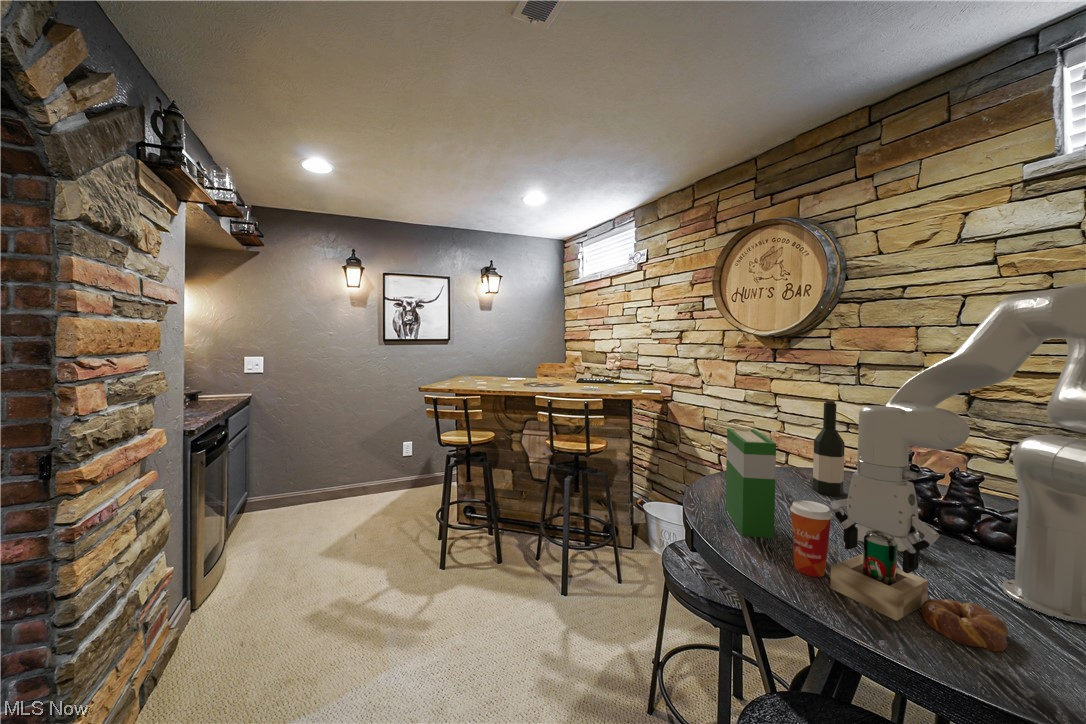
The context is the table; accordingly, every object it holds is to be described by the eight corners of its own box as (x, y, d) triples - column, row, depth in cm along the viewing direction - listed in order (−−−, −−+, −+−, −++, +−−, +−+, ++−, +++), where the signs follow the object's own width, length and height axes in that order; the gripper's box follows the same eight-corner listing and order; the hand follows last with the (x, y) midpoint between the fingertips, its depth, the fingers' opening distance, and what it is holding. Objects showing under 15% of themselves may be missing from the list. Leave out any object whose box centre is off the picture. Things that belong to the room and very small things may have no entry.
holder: (927, 603, 78) (928, 580, 78) (896, 620, 73) (897, 596, 73) (861, 574, 88) (861, 553, 88) (830, 588, 83) (830, 566, 83)
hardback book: (725, 508, 123) (727, 428, 122) (752, 510, 122) (754, 429, 121) (742, 535, 106) (744, 442, 105) (773, 538, 105) (776, 443, 103)
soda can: (883, 588, 83) (885, 529, 82) (902, 604, 78) (904, 541, 77) (856, 587, 83) (857, 528, 83) (873, 603, 78) (875, 540, 78)
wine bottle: (806, 488, 140) (808, 399, 139) (825, 486, 143) (827, 398, 141) (830, 497, 132) (833, 403, 131) (849, 494, 135) (852, 401, 133)
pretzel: (938, 603, 79) (939, 584, 79) (1023, 639, 69) (1024, 617, 69) (906, 621, 74) (907, 601, 74) (994, 663, 64) (995, 640, 64)
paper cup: (780, 564, 92) (781, 502, 92) (805, 558, 95) (806, 497, 94) (814, 583, 85) (816, 515, 84) (840, 576, 88) (842, 510, 87)
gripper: (950, 481, 74) (946, 576, 74) (843, 457, 89) (841, 536, 90) (929, 488, 70) (925, 587, 71) (822, 462, 86) (820, 543, 87)
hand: (878, 558), depth 80 cm, fingers open, 9 cm apart
